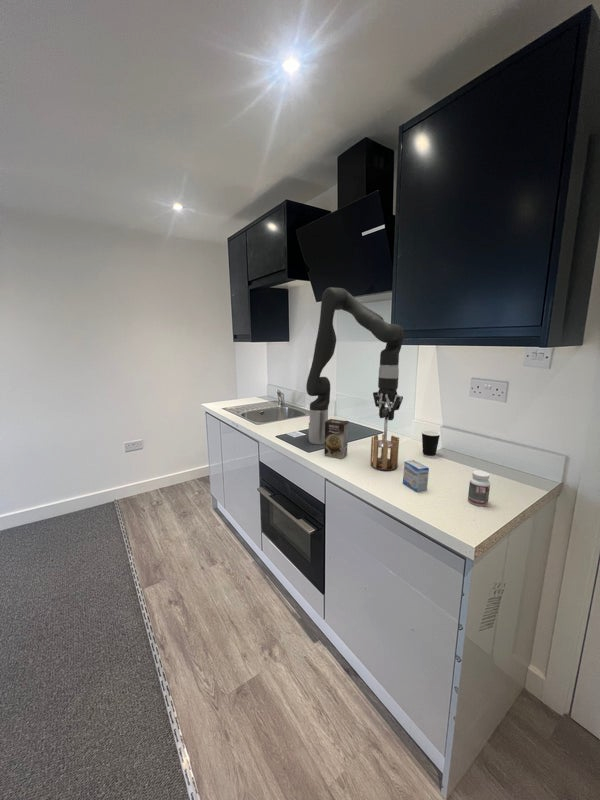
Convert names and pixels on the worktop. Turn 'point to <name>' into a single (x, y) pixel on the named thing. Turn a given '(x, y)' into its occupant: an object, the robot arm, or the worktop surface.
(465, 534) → the worktop surface
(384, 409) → the plunger
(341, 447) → the coffee box
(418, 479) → the medicine box
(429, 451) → the dixie cup
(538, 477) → the worktop surface
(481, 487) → the pill bottle
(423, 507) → the worktop surface
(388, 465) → the press carafe
